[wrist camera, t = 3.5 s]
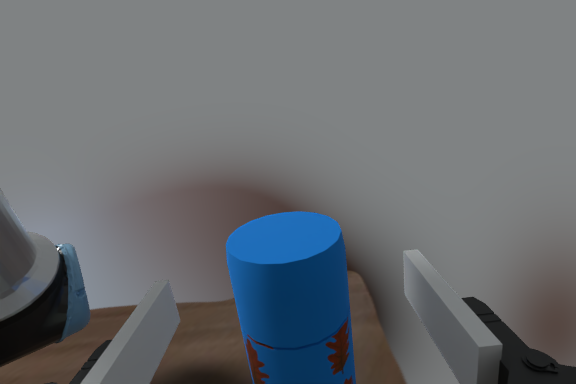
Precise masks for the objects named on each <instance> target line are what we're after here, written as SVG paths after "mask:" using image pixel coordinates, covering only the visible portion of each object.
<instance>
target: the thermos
mask: <svg viewBox="0 0 576 384" xmlns="http://www.w3.org/2000/svg"><path fill="white" fill-rule="evenodd" d="M226 253H227V264H228V269H229V274H230V278H231V283H232V288H233V292H234V297H235V302H236V306H237V311H238V316H239V320H240V325H241V330H242V334H243V339H244V344H245V348H246V353H247V358H248V362H249V367H250V372H251V376H252V381H253V384H356V380H355V367H354V354H353V341H352V329H351V316H350V305H349V304H350V303H349V290H348V278H347V266H346V252H345V245H344V240H343V236H342V231H341V229H340V226H339V224H338V222H336V221H335V220H333V219H332V218H330V217H329V216H325V215H322V214H318V213H311V212H300V211H299V212H285V213H284V212H283V213H278V214H273V215H268V216H264V217H261V218H258V219H255V220H252V221H250V222H248V223H246V224H245V225H242V226H241V227H239V228H238V229H236V231H234V232H233V233H232V234H231V235H230V236H229V238H228V241H227V243H226Z"/></svg>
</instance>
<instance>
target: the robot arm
mask: <svg viewBox="0 0 576 384" xmlns="http://www.w3.org/2000/svg"><path fill="white" fill-rule="evenodd" d="M403 256H404V292H405V293H404V294H405V295H406V297H407V299H408V300H409V302H410V304H411V305H412V307H413V309H414V310H415V312H416V313H417V315H418V316H419V318H420V320H421V322H422V323H423V325H424V326H425V328H426V330H427V331H428V333H429V335H430V336H431V337H432V339H433V341H434V343H435V344H436V346H437V347H438V349H439V350H440V352H441V354H442V356H443V357H444V359H445V360H446V362H447V364H448V365H449V367H450V369H451V370H452V372H453V373H454V375H455V377H456V378H457V380H458V381H459V383H460V384H576V367H571V366H565V365H560V364H558V363H557V362H556V360H554V359H553V358H551V357H550V356H548V355H547V354H545V353H543V352H540V351H538V350H535V349H530V348H529V347H528V346H527V345H526V344H525V343H524V342H523V341H522V340H521V339H520V338H519V337H518V336H517V335H516V334H515V333H514V332H513V331H512V330H511V329H510V328H509V327H508V326H507V325H506V324H505V323H504V322H502V321H501V319H500V318H499V317H498V316H497V315H496V314H494V312H493V311H492V310H491V309H490V308H489V307H488V306H487V305H486V304H485V303H483V302H481V301H479V300H477V299H476V298H474V297H468V298H460V296H459V295H458V294H457V293H456V292H455V291H454V290H453V289H452V287H451V286H450V285H449V284H448V283H447V282H446V281H445V280H444V278H443V277H442V276H441V275H440V274H439V273H438V272H437V271H436V270H435V268H434V267H433V266H432V265H431V264H430V263H429V262H428V261H427V259H426V258H425V257H424V256H423V255H422V254H421V253H420V252H419V251H418V250H417V249H416V250H408V251H403ZM89 320H90V309H89V304H88V300H87V295H86V291H85V287H84V282H83V277H82V273H81V269H80V265H79V262H78V258H77V254H76V251H75V248H74V247H73V245H71V244H63V245H61V244H58V245H54V244H53V243H52V242H51V241H50V240H49V239H48V238H46V237H44V236H42V235H39V234H36V233H32V232H27V231H26V229H25V228H24V226H23V225H22V223H21V221H20V220H19V218H18V216H17V215H16V213H15V212H14V210H13V209H12V207H11V205H10V204H9V202H8V200H7V199H6V197H5V196H4V194H3V192H2V191H1V189H0V367H2V366H4V365H6V364H9V363H11V362H13V361H15V360H17V359H20V358H22V357H24V356H26V355H28V354H31V353H33V352H35V351H37V350H40V349H42V348H44V347H46V346H48V345H51V344H53V343H59V342H61V341H63V340H64V339H65V338H66V337H68V336H70V335H72V334H74V333H76V332H78V331H80V330H82V329H83V328H84V327H85V326H86V325H87V324H88V322H89ZM179 322H180V317H179V314H178V310H177V307H176V304H175V300H174V297H173V293H172V290H171V286H170V283H169V280H165V281H156V282H155V283H154V284H153V286H152V287H151V289H150V290H149V291H148V292H147V294H146V295H145V297H144V298H143V299H142V301H141V302H140V303H139V305H138V306H137V307H136V309H135V310H134V311H133V313H132V314H131V315H130V317H129V318H128V320H127V321H126V322H125V324H124V325H123V326H122V328H121V329H120V330H119V332H118V333H117V335H116V336H115V337H114V339H113V340H107V341H105V342H104V343H103V344H102V345H101V346H99V347H98V348H97V349H96V350H95V351H94V352H93V354H92V355H91V356H90V358H89V359H88V361H87V362H86V363H85V364H84V365H83V367H82V368H81V370H80V371H79V372H78V373H77V374H76V376H75V377H74V378H73V379H72V381H71V382H70V383H69V384H150V382H151V380H152V378H153V376H154V374H155V371H156V369H157V367H158V365H159V363H160V361H161V359H162V357H163V355H164V353H165V351H166V349H167V347H168V345H169V343H170V341H171V339H172V337H173V335H174V333H175V331H176V328H177V326H178V324H179ZM46 384H57V383H53V382H51V383H46Z"/></svg>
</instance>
